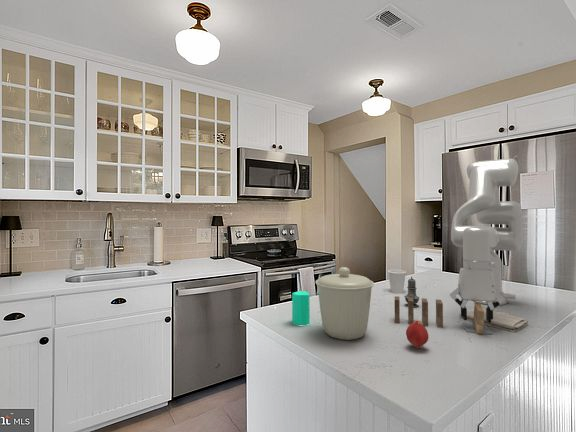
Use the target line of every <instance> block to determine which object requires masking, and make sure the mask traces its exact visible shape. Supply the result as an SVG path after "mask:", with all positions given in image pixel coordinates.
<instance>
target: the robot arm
mask: <svg viewBox="0 0 576 432" xmlns="http://www.w3.org/2000/svg"><path fill="white" fill-rule="evenodd" d="M518 174H519V164H518V162H517V160H516V159H515V158H501V159H491V160H490V159H487V160H480V161H475V162H472V163H471V162H470V164H468V165H467V166H466V175H467V177H468V179H469V186H468V195H467V196H468V197H467V198H468V199H467V201H466V202H465V203H463V204H462V205H461V206H460V207H459V208H458V209H457V210H456V212H455V213H454V214H453V217H452V222H451V231H450V240H451V242H452V244H453V246H456V247H460V248H462V267H460V269H459V273H458V283H457V287H456V288H455V289H453V291H452V292H450V293H449V297H450V298H451V299H453V300H454V302H455V303H456V304H458V306H460V314H461V317H463V319H462V320H464V321H467V311H468V308H467V304H468V302H469V301H474V303H481V304H482V305H483V304H484V305H487V307H486V308H485V309H486V320H487V321H488V322H489V323H491V319H492V320H493V311H495V309H496V308H498V307H499V306H503V305H506V304H507V299H508V300H509V299H510V300H516V299H517V296H516V294H512V293H511V294H510V293H505V292H503V266H502V264H503V263H502V259H501V258H500V256H499V255H498V253H497V252H495V251H506V252H507V251H509V252H510V251H511V252H516V251H520V250H521V249H522V248H523V243H524V240H523V239H524V231H523V227H524V226H523V224H524V222H523V209H522V206H521V204H520V203H519V202H517V201H512V200H510V201H507V200H505V201H501V200H500V199H501V198H500V187H512V186H514V185H515V184H516V182H517V179H518ZM475 214H476V215H475ZM473 215H475V217H476V220H477V222H478V223H480V224H482V225H462V223H463V222H464V221H465V220H466V219H467V218H469V217H471V216H473ZM487 225H488V226H487ZM489 225H506V226H508V227H498V226H497V227H496V226H489ZM457 295H458V296H459V297H460V299H459V298H458V297H457Z"/></svg>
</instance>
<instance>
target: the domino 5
mask: <svg viewBox="0 0 576 432" xmlns="http://www.w3.org/2000/svg"><path fill="white" fill-rule="evenodd" d="M473 308H474V322H472V324H473V325H474V327H475V330H476V334H477V335H483V334H484V333H483V322H484V310H483V309H484V308H483V304H482V303H478V302H474V307H473Z"/></svg>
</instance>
